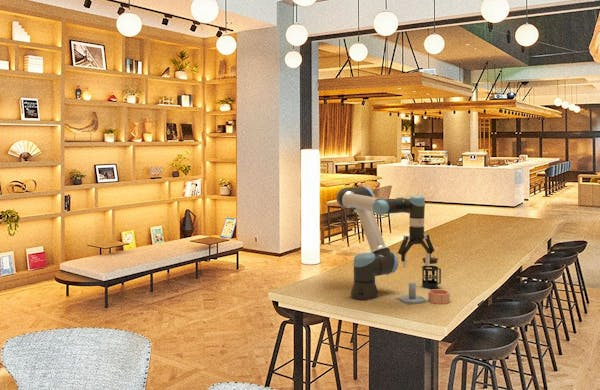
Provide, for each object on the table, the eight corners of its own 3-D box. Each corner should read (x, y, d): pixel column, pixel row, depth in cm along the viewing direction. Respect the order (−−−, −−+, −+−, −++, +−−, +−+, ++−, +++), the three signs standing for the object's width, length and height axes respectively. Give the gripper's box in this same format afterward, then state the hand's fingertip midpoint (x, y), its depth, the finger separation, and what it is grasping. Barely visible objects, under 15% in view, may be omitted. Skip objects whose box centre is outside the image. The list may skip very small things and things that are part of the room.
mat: (393, 299, 300) (393, 298, 300) (416, 296, 305) (416, 295, 305) (407, 306, 287) (407, 305, 287) (431, 302, 292) (431, 302, 292)
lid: (395, 298, 300) (395, 281, 299) (415, 295, 304) (416, 279, 303) (408, 304, 288) (408, 287, 287) (429, 301, 292) (429, 284, 292)
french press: (417, 287, 323) (417, 248, 321) (425, 284, 331) (425, 246, 329) (436, 290, 316) (437, 250, 314) (443, 287, 323) (444, 248, 321)
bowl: (425, 300, 297) (425, 290, 296) (441, 298, 300) (441, 288, 300) (436, 305, 287) (436, 295, 287) (453, 303, 291) (453, 293, 290)
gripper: (399, 228, 279) (398, 270, 281) (441, 225, 287) (440, 266, 290) (391, 226, 286) (391, 266, 288) (433, 223, 294) (432, 263, 297)
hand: (415, 266), depth 289 cm, fingers open, 13 cm apart
